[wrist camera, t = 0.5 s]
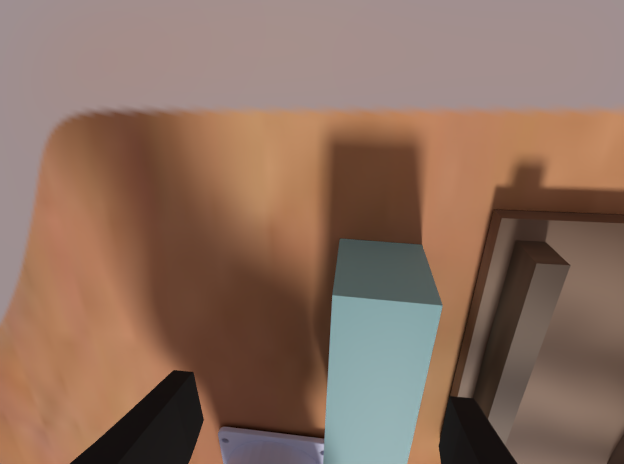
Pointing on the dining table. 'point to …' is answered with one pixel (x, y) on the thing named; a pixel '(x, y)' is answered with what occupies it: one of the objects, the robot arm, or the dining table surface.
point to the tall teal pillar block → (378, 350)
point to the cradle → (549, 336)
